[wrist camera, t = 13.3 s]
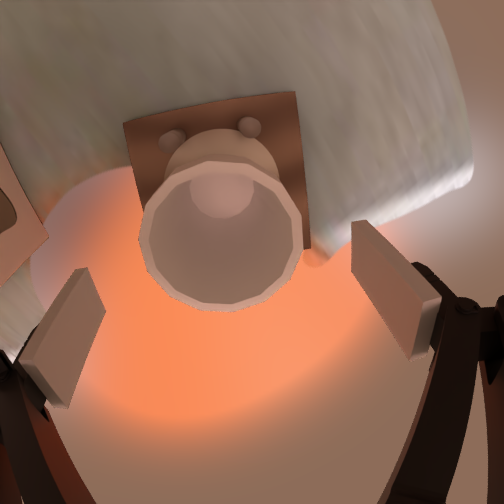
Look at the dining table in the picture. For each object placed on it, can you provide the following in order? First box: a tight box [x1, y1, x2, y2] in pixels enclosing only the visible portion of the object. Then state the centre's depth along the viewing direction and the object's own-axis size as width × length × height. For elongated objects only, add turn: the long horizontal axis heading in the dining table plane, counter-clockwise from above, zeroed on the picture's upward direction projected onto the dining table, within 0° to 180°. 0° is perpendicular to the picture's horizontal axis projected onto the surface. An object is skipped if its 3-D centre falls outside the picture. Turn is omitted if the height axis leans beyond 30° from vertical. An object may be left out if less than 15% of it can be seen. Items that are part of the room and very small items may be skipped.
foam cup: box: [138, 154, 303, 312], centre depth 24 cm, size 10×9×13 cm
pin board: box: [123, 91, 311, 250], centre depth 28 cm, size 16×16×6 cm
